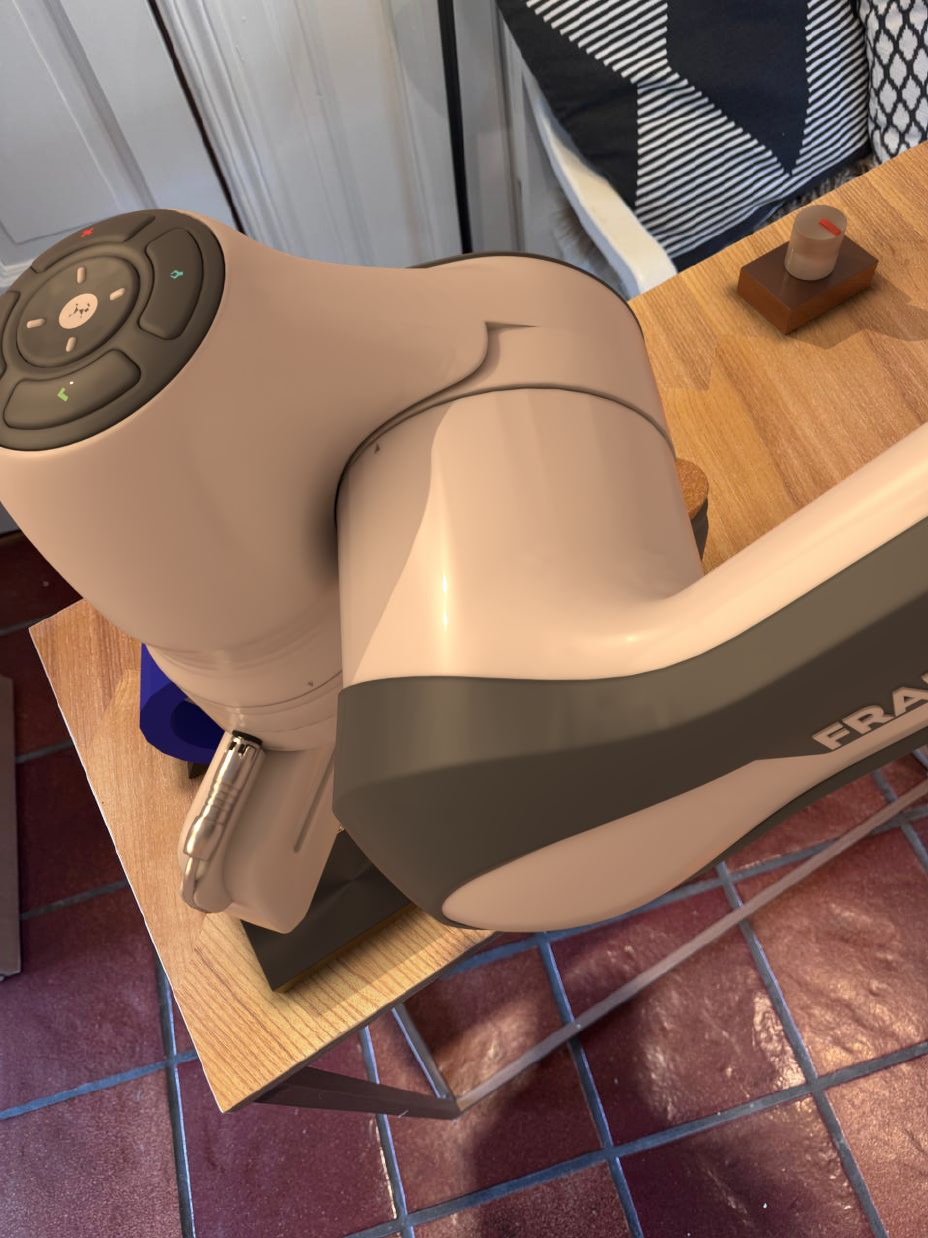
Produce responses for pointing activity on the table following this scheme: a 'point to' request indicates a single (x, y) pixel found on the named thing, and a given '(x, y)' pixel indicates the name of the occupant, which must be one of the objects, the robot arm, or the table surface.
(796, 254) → the knob
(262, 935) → the button box
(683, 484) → the bottle
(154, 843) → the table surface
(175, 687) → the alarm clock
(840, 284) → the panel
